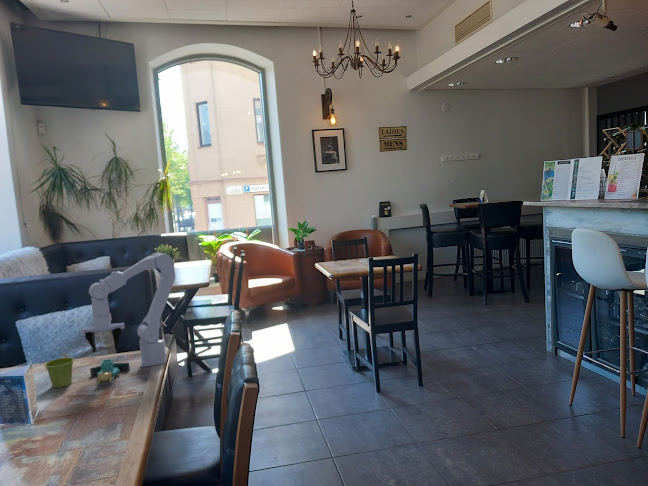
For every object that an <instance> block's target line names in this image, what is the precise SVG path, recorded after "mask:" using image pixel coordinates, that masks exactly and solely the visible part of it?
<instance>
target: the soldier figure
mask: <svg viewBox="0 0 648 486" xmlns="http://www.w3.org/2000/svg"><path fill="white" fill-rule="evenodd" d="M61 355H62V356H61V358H66V357H69V356H70V354H69V353H67V352H61Z"/></svg>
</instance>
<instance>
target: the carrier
mask: <svg viewBox="0 0 648 486" xmlns="http://www.w3.org/2000/svg"><path fill="white" fill-rule="evenodd" d="M113 363H114V368H117V367H118V369H119V370H120V372H128V371H130V369H131V367H130V362H128V361H127V362H113ZM101 370H102V367H101V365H97V366H94V367H89V371H90V372H89V373H90V376H91V377H95V376H97V373H98V372H100V371H101ZM116 376H117V374H116V375H115V376H112V371H107V372H102V373H99V374H98V376H97V380H98V381H97V387H103V386H110V385H113V383H114V381H115V379H116Z"/></svg>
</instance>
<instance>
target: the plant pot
mask: <svg viewBox="0 0 648 486" xmlns="http://www.w3.org/2000/svg"><path fill="white" fill-rule="evenodd" d="M73 364H74V358H73V357H69V356H68V357H66V358H62V357H59V358H56V359H52V360H50V361H48V362H45V364H44V367H45V368H46V370H47V372H48V376H49V379H50V383H51V386H52V388H54V389H60V388H62V387H68V386H69V385H71V384H72V380H73V379H72V375H73V374H72V373H73Z"/></svg>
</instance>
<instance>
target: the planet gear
mask: <svg viewBox="0 0 648 486" xmlns="http://www.w3.org/2000/svg"><path fill="white" fill-rule="evenodd" d="M100 362H101V363H100V366H101V367H102V370H101V371H100V372H98V373H97V375H96V376H97V377H98V374H99V373H102V372H107V371H112V376H115V375H116V376H117V374H119V373H120V372H121V371H120V370H119V369H118V367H117V368H114V363H115V362H114V359H113V358H109V359H103V360H102V361H100ZM116 376H115V377H116Z"/></svg>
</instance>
